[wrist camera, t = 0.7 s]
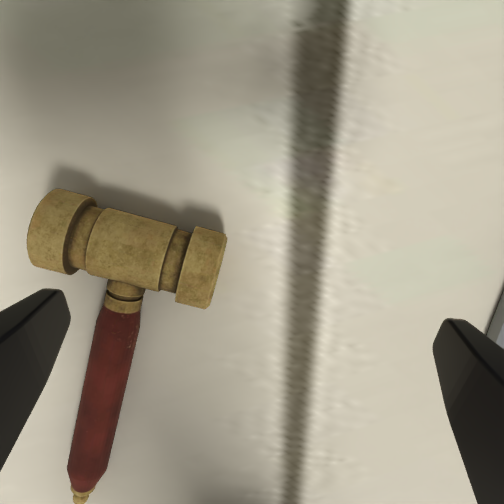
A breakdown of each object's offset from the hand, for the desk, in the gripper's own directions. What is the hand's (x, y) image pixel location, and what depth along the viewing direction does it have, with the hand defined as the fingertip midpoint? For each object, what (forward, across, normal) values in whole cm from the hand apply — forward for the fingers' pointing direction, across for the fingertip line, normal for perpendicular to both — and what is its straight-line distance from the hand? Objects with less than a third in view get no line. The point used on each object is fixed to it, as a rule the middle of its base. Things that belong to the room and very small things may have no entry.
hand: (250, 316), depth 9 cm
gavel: (+10, +9, +14) cm, 20 cm away
